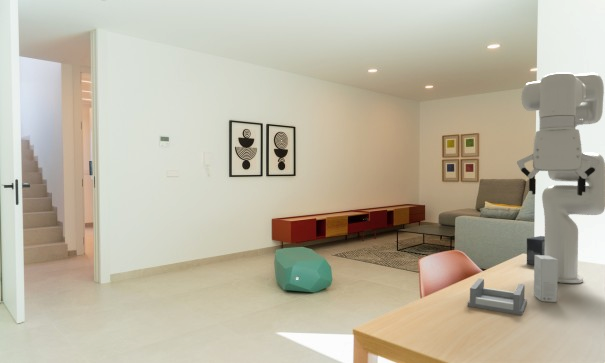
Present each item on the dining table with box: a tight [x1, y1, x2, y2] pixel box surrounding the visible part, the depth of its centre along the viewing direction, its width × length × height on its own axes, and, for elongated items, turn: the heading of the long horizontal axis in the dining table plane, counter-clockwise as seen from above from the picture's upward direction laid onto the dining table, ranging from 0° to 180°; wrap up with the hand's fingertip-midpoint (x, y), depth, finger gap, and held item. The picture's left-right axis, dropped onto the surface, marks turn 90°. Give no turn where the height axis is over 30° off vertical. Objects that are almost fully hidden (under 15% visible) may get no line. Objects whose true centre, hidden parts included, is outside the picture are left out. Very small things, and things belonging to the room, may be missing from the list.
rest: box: [467, 278, 528, 316], centre depth 111 cm, size 12×13×5 cm
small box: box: [526, 235, 545, 266], centre depth 161 cm, size 11×6×10 cm, turn 122°
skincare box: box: [533, 255, 558, 303], centre depth 116 cm, size 6×4×12 cm
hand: (556, 194), depth 100 cm, fingers open, 9 cm apart
